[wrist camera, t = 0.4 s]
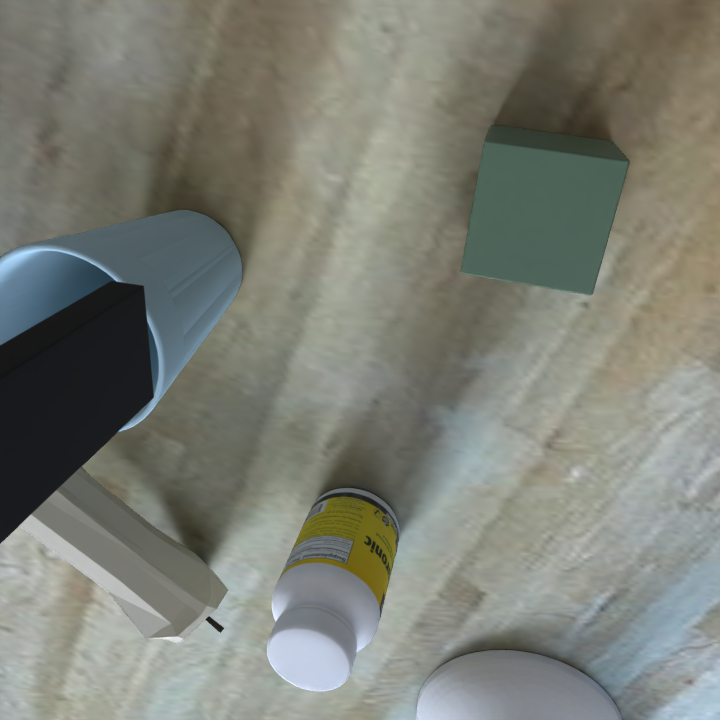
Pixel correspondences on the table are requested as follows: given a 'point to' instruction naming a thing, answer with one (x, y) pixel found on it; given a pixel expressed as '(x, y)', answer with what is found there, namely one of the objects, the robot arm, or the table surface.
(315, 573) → the supplement bottle
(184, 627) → the faceted club
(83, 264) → the cup
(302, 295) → the table surface
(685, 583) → the table surface
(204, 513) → the table surface
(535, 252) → the sage block
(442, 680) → the candlestick
